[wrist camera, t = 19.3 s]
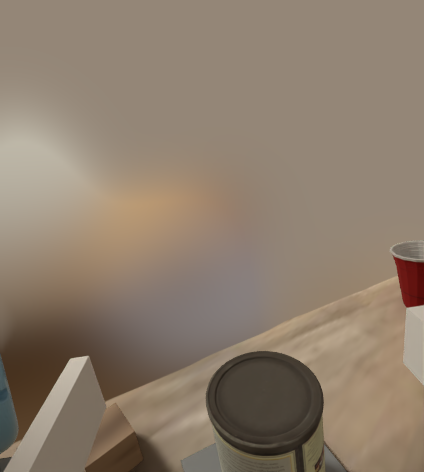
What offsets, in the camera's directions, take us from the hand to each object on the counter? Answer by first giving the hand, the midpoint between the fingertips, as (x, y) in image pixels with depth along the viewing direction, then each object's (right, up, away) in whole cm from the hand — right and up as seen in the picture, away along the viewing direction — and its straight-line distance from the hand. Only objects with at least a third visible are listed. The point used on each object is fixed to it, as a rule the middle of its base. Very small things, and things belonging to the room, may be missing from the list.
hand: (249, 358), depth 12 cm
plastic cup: (+39, -8, +46) cm, 61 cm away
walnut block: (-14, -24, +26) cm, 38 cm away
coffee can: (+5, -22, +19) cm, 29 cm away
